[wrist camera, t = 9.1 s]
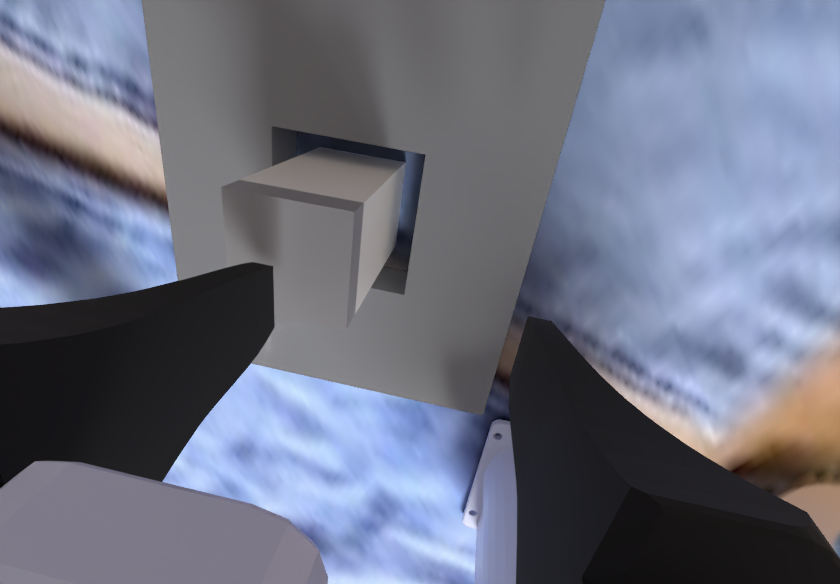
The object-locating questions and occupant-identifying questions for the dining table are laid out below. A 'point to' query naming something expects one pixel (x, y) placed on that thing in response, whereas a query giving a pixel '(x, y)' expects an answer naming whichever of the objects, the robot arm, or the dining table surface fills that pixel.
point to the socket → (388, 127)
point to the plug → (317, 229)
